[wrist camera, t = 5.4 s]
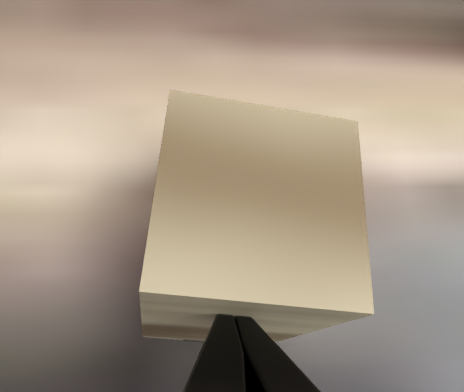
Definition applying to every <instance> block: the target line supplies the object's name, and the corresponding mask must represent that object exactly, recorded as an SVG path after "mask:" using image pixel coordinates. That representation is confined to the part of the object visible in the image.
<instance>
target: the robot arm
mask: <svg viewBox="0 0 464 392" xmlns="http://www.w3.org/2000/svg"><path fill="white" fill-rule="evenodd" d="M183 392H320V390H319V389H318V388H317V387H316V386H315V385H314V384H313V383H312V382H311V381H310V380H309V379H308V377H307V376H306V375H305V374H304V373H303V372H302V371H301V370H300V369H299V368H298V367H297V366H296V364H295V363H294V362H293V361H292V360H291V359H290V358H289V357H288V356H287V355H286V354H285V353H284V351H283V350H282V349H281V348H280V347H279V346H278V345H277V344H276V343H275V342H274V341H273V340H272V338H271V337H270V336H269V335H268V334H267V333H266V332H265V331H264V330H263V329H262V328H261V327H260V325H259V324H258V323H257V322H256V321H255V320H254V319H253V318H252V317H249V316H235V317H234V316H232V315H226V314H217V315H216V317H215V319H214V321H213V323H212V326H211V328H210V330H209V333H208V335H207V337H206V340H205V342H204V344H203V347H202V349H201V351H200V353H199V356H198V358H197V360H196V363H195V365H194V367H193V370H192V372H191V374H190V377H189V379H188V381H187V383H186V386H185V388H184V390H183Z"/></svg>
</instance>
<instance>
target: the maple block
mask: <svg viewBox="0 0 464 392" xmlns="http://www.w3.org/2000/svg"><path fill="white" fill-rule="evenodd" d="M139 298H140V310H141V322H142V334H143V337H144V338H157V339H170V340H182V341H195V342H205V340H206V337H207V335H208V333H209V330H210V328H211V326H212V323H213V321H214V319H215V317H216V315H217V314H226V315H232V316H234V317H235V316H249V317H252V318H253V319H254V320H255V321H256V322H257V323H258V324H259V325H260V327H261V328H262V329H263V330H264V331H265V332H266V333H267V334H268V335H269V336H270V337H271V338H272V340H273V341H274V342H277V341H280V340H284V339H287V338H291V337H295V336H298V335H302V334H305V333H309V332H312V331H316V330H319V329H323V328H326V327H330V326H333V325H337V324H341V323H344V322H348V321H351V320H355V319H358V318H362V317H365V316H369V315H372V314H374V307H373V295H372V283H371V272H370V260H369V248H368V237H367V225H366V213H365V201H364V190H363V178H362V166H361V154H360V143H359V131H358V122H357V121H351V120H346V119H340V118H334V117H328V116H322V115H316V114H310V113H304V112H298V111H292V110H287V109H281V108H275V107H269V106H263V105H257V104H251V103H245V102H239V101H233V100H227V99H222V98H216V97H210V96H204V95H198V94H192V93H186V92H180V91H174V90H170V92H169V99H168V105H167V112H166V118H165V125H164V131H163V138H162V144H161V151H160V158H159V164H158V171H157V177H156V184H155V190H154V197H153V203H152V210H151V216H150V223H149V229H148V236H147V242H146V249H145V255H144V262H143V268H142V275H141V282H140V288H139Z"/></svg>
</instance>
